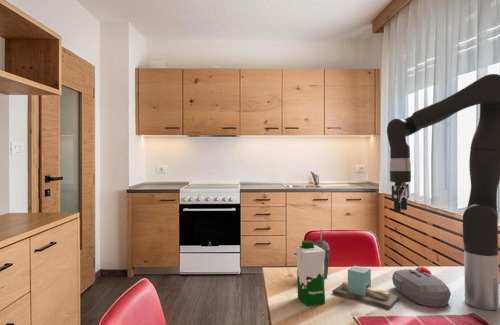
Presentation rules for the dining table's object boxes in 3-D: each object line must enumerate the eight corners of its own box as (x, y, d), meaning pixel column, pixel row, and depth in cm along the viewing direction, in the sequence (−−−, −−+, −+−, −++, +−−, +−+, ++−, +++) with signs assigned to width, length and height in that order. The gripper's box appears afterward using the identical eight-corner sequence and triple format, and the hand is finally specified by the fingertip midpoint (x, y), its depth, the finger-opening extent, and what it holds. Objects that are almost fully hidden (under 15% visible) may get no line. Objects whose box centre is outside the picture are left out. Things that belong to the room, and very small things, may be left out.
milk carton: (316, 293, 117) (315, 238, 117) (329, 304, 108) (328, 244, 108) (294, 296, 115) (293, 240, 115) (305, 307, 106) (304, 247, 106)
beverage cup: (311, 279, 131) (310, 230, 131) (313, 273, 138) (312, 227, 138) (330, 281, 129) (329, 231, 129) (331, 275, 136) (330, 227, 136)
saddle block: (370, 291, 116) (370, 268, 116) (364, 296, 112) (364, 273, 112) (354, 287, 120) (354, 265, 120) (348, 292, 115) (347, 269, 115)
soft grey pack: (386, 287, 123) (419, 311, 103) (386, 265, 123) (418, 284, 103) (423, 284, 125) (462, 308, 105) (423, 263, 125) (462, 282, 105)
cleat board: (399, 299, 112) (399, 290, 112) (389, 309, 104) (389, 299, 104) (344, 285, 125) (344, 277, 125) (332, 293, 117) (332, 284, 117)
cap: (431, 278, 122) (435, 267, 126) (415, 271, 125) (419, 259, 129) (426, 290, 127) (429, 278, 130) (410, 282, 130) (414, 271, 133)
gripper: (405, 170, 119) (405, 214, 119) (415, 169, 130) (416, 209, 130) (384, 170, 124) (384, 212, 124) (395, 169, 135) (396, 208, 135)
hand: (400, 211), depth 127 cm, fingers open, 8 cm apart
